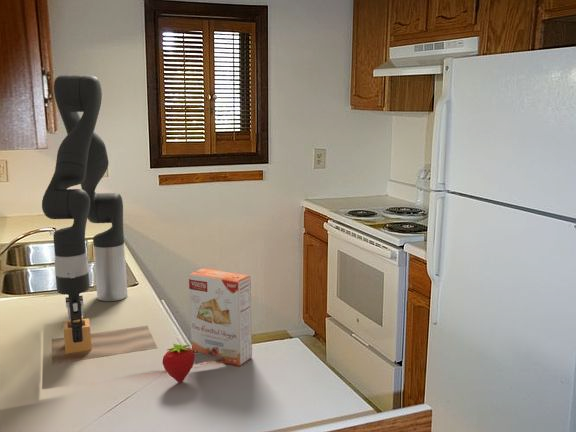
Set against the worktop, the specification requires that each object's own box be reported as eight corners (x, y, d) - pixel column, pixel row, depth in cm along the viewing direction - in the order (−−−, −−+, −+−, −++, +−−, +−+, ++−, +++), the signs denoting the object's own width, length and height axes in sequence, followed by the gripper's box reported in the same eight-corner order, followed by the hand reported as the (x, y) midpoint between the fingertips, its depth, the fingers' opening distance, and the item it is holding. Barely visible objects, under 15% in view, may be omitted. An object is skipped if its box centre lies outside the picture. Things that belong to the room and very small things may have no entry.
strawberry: (157, 383, 130) (155, 340, 128) (185, 372, 135) (183, 330, 134) (173, 392, 126) (171, 348, 124) (201, 380, 131) (200, 337, 130)
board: (52, 344, 152) (49, 316, 150) (147, 330, 160) (146, 304, 159) (52, 370, 137) (50, 339, 135) (157, 353, 146) (156, 324, 144)
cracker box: (190, 356, 144) (187, 273, 140) (205, 347, 149) (202, 267, 145) (239, 367, 137) (237, 281, 134) (253, 358, 143) (251, 274, 139)
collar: (65, 344, 148) (63, 321, 147) (90, 340, 150) (88, 318, 149) (65, 353, 142) (63, 330, 141) (91, 349, 144) (89, 326, 143)
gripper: (55, 265, 148) (60, 327, 151) (55, 281, 135) (61, 348, 138) (86, 262, 150) (91, 323, 153) (90, 277, 137) (95, 343, 140)
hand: (77, 335), depth 145 cm, fingers open, 8 cm apart
